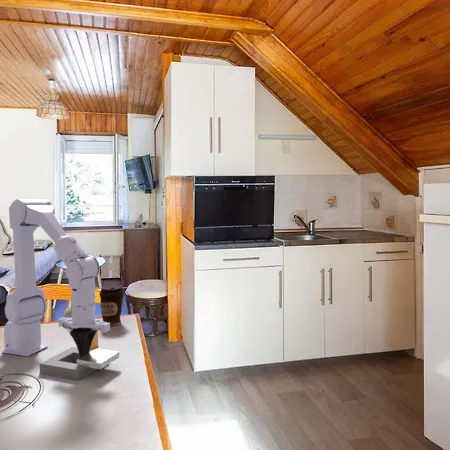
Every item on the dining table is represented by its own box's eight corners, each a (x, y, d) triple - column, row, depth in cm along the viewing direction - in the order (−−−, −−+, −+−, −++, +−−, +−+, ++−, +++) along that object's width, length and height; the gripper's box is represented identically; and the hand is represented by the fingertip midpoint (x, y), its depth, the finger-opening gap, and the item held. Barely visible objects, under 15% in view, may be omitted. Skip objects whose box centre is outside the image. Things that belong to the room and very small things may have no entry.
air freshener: (99, 318, 148) (99, 292, 147) (89, 325, 139) (89, 297, 139) (71, 317, 149) (70, 291, 148) (59, 324, 141) (59, 296, 140)
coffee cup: (117, 328, 137) (116, 290, 136) (94, 326, 139) (94, 289, 138) (128, 320, 146) (127, 285, 145) (107, 319, 147) (106, 284, 146)
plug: (78, 349, 118) (77, 329, 117) (87, 344, 122) (86, 325, 121) (89, 350, 116) (89, 330, 116) (98, 346, 120) (97, 326, 120)
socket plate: (39, 373, 101) (39, 363, 101) (72, 355, 112) (72, 347, 112) (79, 380, 97) (78, 370, 97) (108, 361, 109) (108, 352, 108)
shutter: (76, 365, 100) (76, 359, 100) (96, 353, 107) (96, 348, 107) (100, 369, 97) (100, 363, 97) (119, 357, 105) (119, 351, 105)
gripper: (49, 305, 101) (50, 357, 102) (97, 310, 97) (98, 365, 98) (68, 299, 108) (69, 348, 109) (114, 303, 103) (115, 355, 104)
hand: (84, 355), depth 104 cm, fingers closed
